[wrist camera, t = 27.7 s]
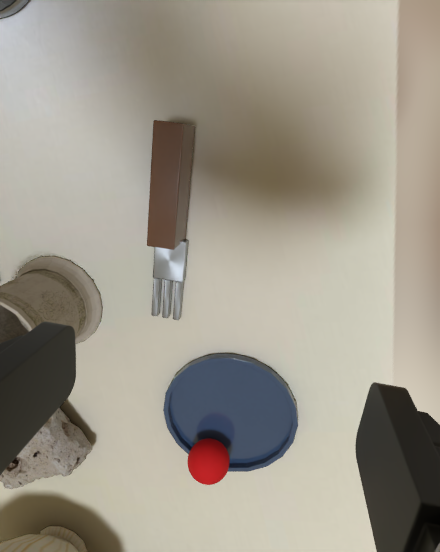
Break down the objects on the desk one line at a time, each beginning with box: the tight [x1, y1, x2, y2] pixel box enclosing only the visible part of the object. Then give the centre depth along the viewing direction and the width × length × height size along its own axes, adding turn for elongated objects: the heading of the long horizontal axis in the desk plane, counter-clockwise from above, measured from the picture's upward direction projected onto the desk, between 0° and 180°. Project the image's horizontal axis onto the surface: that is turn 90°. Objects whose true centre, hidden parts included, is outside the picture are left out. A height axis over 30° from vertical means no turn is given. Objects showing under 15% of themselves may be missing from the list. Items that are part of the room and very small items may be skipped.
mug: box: [0, 256, 102, 344], centre depth 36 cm, size 14×10×12 cm
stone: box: [0, 408, 92, 489], centre depth 45 cm, size 13×6×10 cm
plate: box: [164, 353, 298, 471], centre depth 42 cm, size 14×14×1 cm
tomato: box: [188, 438, 230, 485], centre depth 42 cm, size 4×4×5 cm
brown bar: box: [147, 120, 195, 320], centre depth 35 cm, size 18×3×4 cm, turn 173°
